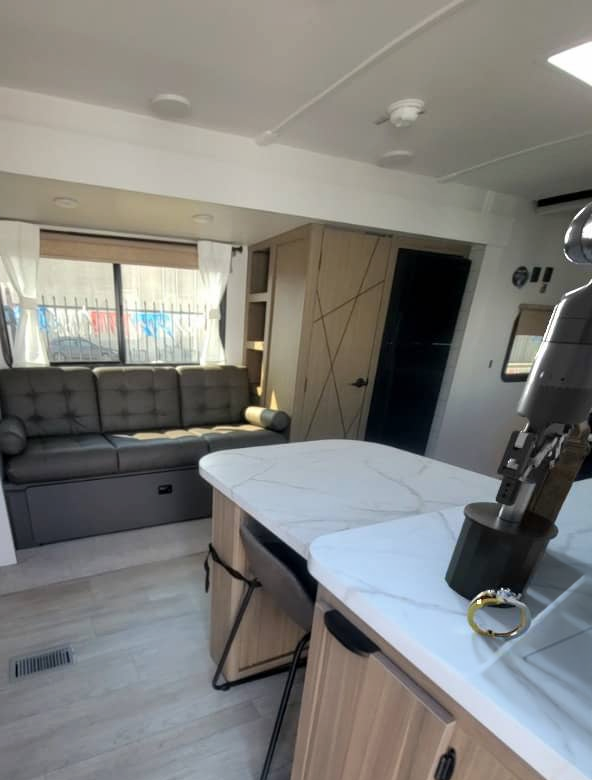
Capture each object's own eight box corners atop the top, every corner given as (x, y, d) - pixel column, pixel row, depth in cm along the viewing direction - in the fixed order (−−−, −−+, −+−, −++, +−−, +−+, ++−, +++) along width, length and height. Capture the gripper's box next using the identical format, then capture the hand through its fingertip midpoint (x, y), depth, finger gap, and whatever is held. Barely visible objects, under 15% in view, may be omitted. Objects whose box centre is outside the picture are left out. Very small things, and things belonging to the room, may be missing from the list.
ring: (460, 636, 56) (478, 589, 52) (459, 622, 58) (477, 576, 55) (520, 655, 53) (544, 606, 50) (517, 639, 56) (539, 592, 52)
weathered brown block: (487, 526, 86) (532, 408, 75) (536, 539, 82) (590, 415, 71) (476, 564, 73) (529, 426, 62) (534, 582, 68) (601, 437, 57)
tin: (463, 564, 73) (486, 501, 67) (531, 596, 65) (564, 527, 59) (431, 583, 67) (453, 516, 62) (501, 620, 59) (534, 546, 54)
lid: (483, 503, 68) (498, 462, 65) (568, 531, 59) (589, 486, 56) (447, 519, 62) (461, 475, 59) (535, 553, 53) (558, 504, 50)
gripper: (579, 389, 45) (526, 519, 52) (618, 382, 52) (566, 496, 60) (505, 380, 51) (466, 498, 58) (550, 374, 58) (510, 480, 65)
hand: (517, 497), depth 59 cm, fingers open, 8 cm apart
